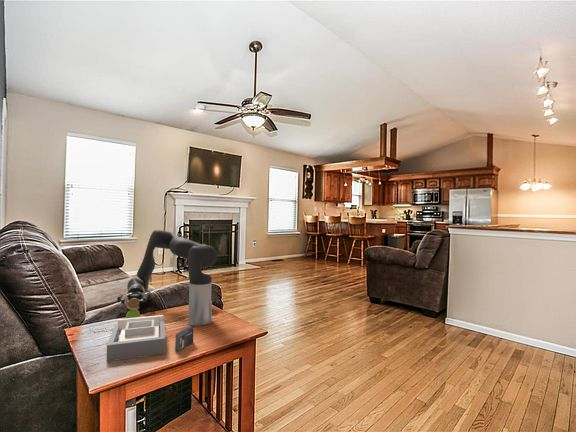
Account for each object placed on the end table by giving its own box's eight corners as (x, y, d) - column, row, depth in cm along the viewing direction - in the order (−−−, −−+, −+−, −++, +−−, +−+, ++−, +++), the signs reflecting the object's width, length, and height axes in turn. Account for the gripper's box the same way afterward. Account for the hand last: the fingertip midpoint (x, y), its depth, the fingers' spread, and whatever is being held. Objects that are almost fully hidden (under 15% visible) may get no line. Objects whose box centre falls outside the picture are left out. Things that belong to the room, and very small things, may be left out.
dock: (163, 333, 120) (164, 321, 120) (164, 353, 103) (165, 338, 103) (114, 339, 113) (114, 326, 113) (106, 361, 97) (106, 345, 97)
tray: (162, 324, 129) (163, 314, 129) (163, 340, 113) (164, 329, 113) (117, 329, 122) (118, 319, 122) (111, 346, 106) (112, 334, 106)
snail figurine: (126, 320, 134) (127, 292, 134) (141, 320, 134) (142, 292, 134) (120, 324, 129) (121, 295, 129) (136, 324, 129) (137, 295, 129)
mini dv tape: (179, 352, 104) (179, 334, 104) (175, 351, 105) (175, 334, 105) (193, 343, 112) (193, 326, 112) (189, 342, 113) (190, 326, 113)
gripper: (120, 286, 152) (116, 294, 137) (151, 284, 158) (151, 291, 143) (119, 301, 152) (115, 310, 137) (151, 299, 158) (150, 307, 143)
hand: (133, 301), depth 140 cm, fingers open, 8 cm apart
